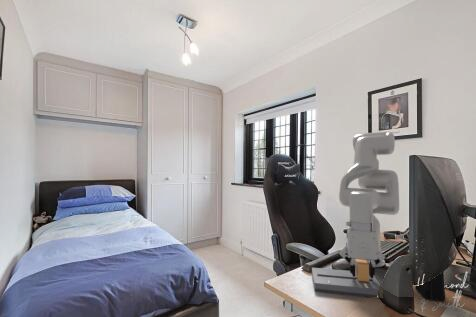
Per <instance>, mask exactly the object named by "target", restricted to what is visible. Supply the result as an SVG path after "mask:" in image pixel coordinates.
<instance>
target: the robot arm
mask: <svg viewBox="0 0 476 317" xmlns="http://www.w3.org/2000/svg"><path fill="white" fill-rule="evenodd" d="M395 143H396V140H395V135H394V133H393V132H391V131H381V132H379V131H378V132H365V133H359V134H356V135H354V136H353V138H352V146H353V150H354V159H353V160H354V161H353V166H351V167H350V168H349V169H348V171H346V172H345V173H344V175H343V176H342V178H341V180H340V185H339V194H338V197H339V198H338V199H339V203H340V204H341V205H342V206H344V207H348V208H349V219H348V221H345V226H346V227H348V228H347V232H346V238H345V239H346V240H345V246H344V247H343V248H342V250H340V252H339V255H340V256H341V257H342V259H344V260H345V261H346V262H347V263H348V264H349V271H350V273H352V275H353V277H355V259H360V260H366V261H367V263H368V264H369V276H370V277H371V278H373V275H374V276H375V274H376V272H375V271H376V270H375V268H380V267H384V266H385V263H386V261H385V258H386V257H385V255H384V254H383V253H382V252H381V224H380V220H379V219H378V218H377V217H376V216H375V214H376V215H386V216H387V215H389V216H395V215H397V214H398V213H399V210H400V188H399V187H400V186H399V176H398V174H397V172H396V171H394V170H391V169H379V168H380V167H379V166H380V164H379V162H380V161H379V159H378V155H379V156H383V155H385V156H387V155H392V154H393V153H394V151H395V145H396V144H395ZM357 179H358V181H357V182H358V186H359V187H360V188H354V187H349V186H350V184H351V183H352V182H353V181H355V180H357ZM383 191H384V192H383Z"/></svg>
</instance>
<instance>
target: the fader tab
mask: <svg viewBox="0 0 476 317" xmlns="http://www.w3.org/2000/svg"><path fill="white" fill-rule="evenodd" d="M354 265H355V275H356V277H357V279H358V281H367V282H369V264H368V263H367V261H366V260H360V259H355V262H354Z"/></svg>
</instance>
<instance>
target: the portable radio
mask: <svg viewBox="0 0 476 317" xmlns="http://www.w3.org/2000/svg"><path fill="white" fill-rule="evenodd" d="M444 274H445V273H444V271H443V272H442V273H441V274H439V275H438V276H436V277H435V278H433V279H431V280H430V281H428V282H425V283H424V284H423V285H419V286H415V285H414V289H415V290H416V291H417V293H419V294H420V296H422V298H423V299H425V300H429V301H430V300H431V301H440V302H445V300H446V289H445V276H444Z"/></svg>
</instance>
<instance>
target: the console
mask: <svg viewBox="0 0 476 317" xmlns="http://www.w3.org/2000/svg"><path fill="white" fill-rule="evenodd" d="M311 277H312V283H313V290H314V292H316V293H317V292H318V293H327V294H335V295H346V296H353V297H354V296H355V297H362V296H363V297H364V298H371V297H377V295H378V291H379V287H380V285H381V284H380V282H379V281H378V279H377V278H376V277H375V275H373V278H371V277H370V276H369V282H367V281H358V279H357V277H356V275H355V277H353V275H352V273H350V270H343V269H333V268H324V267H323V268H320V267H311ZM363 297H362V298H363Z"/></svg>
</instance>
